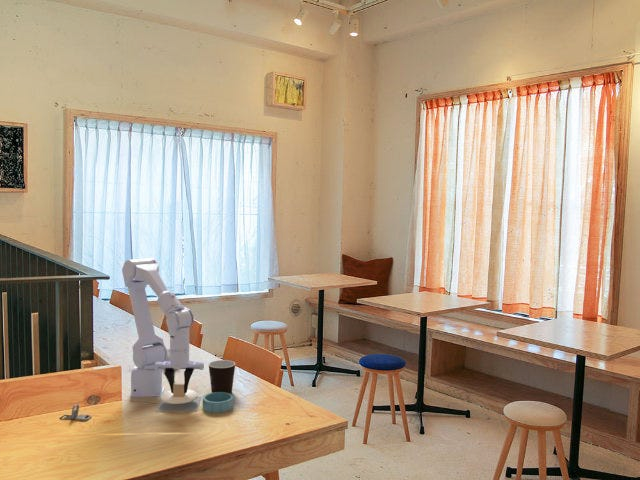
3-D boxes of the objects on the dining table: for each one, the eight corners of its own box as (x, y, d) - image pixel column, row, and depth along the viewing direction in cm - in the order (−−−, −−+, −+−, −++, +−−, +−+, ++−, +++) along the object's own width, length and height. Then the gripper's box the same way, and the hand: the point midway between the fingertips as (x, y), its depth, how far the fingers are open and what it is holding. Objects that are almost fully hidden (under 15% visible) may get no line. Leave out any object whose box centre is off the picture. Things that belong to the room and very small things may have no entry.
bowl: (201, 414, 165) (201, 402, 164) (204, 403, 174) (204, 392, 173) (231, 413, 166) (232, 402, 165) (233, 402, 174) (233, 391, 174)
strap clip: (92, 418, 161) (92, 404, 161) (86, 422, 158) (86, 407, 158) (64, 416, 162) (64, 402, 162) (58, 420, 159) (58, 406, 158)
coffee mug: (229, 399, 177) (229, 369, 176) (204, 397, 179) (204, 366, 178) (241, 387, 188) (242, 358, 188) (217, 385, 190) (218, 356, 189)
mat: (155, 413, 165) (155, 411, 165) (163, 398, 177) (163, 397, 177) (196, 412, 166) (196, 411, 166) (201, 397, 178) (201, 396, 178)
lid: (157, 404, 165) (157, 388, 165) (164, 390, 176) (164, 376, 176) (195, 403, 166) (195, 388, 166) (199, 390, 177) (199, 376, 177)
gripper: (152, 352, 165) (152, 396, 167) (202, 352, 167) (201, 396, 168) (157, 346, 172) (157, 388, 174) (204, 346, 174) (204, 388, 175)
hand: (179, 392), depth 171 cm, fingers closed on lid, 3 cm apart
